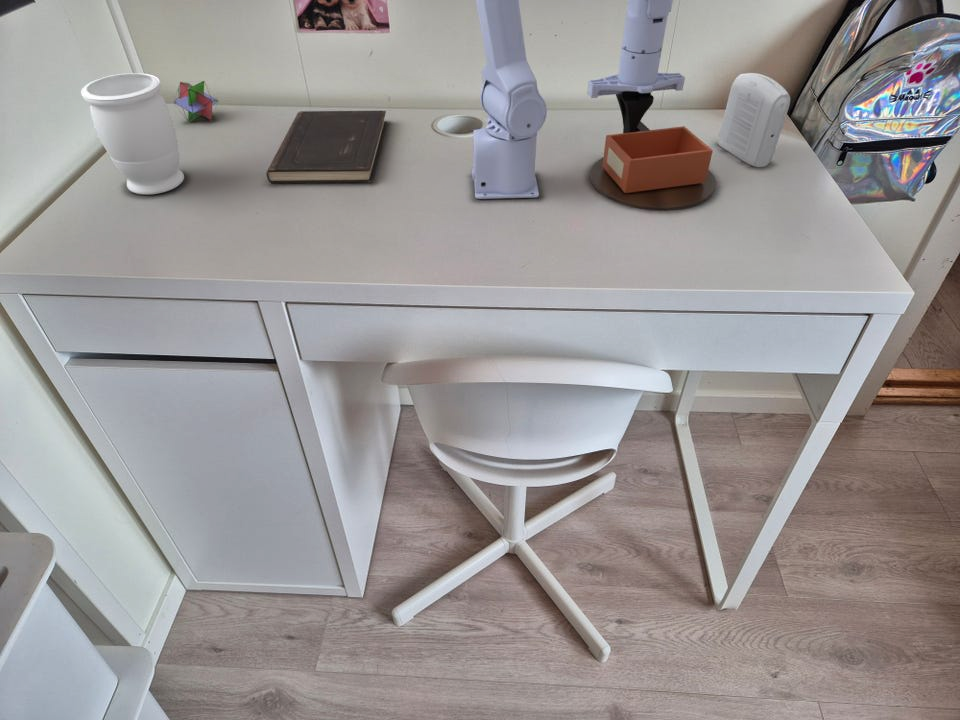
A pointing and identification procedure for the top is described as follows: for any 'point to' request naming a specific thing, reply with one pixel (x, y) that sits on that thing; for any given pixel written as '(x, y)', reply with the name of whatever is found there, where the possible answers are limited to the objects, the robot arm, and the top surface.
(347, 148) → the hardcover book
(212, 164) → the top surface
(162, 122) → the jar
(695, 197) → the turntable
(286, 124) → the top surface
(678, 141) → the bin
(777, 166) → the top surface
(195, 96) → the geometric puzzle
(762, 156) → the photo printer
